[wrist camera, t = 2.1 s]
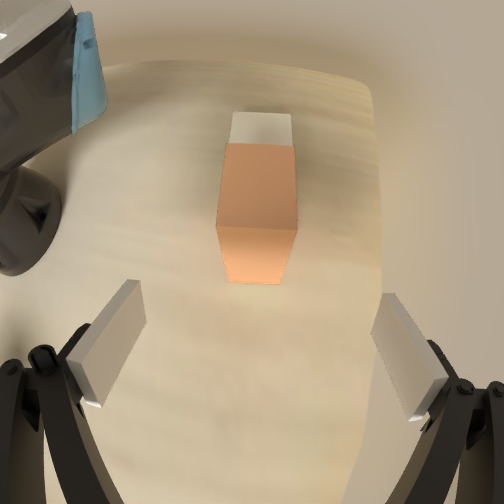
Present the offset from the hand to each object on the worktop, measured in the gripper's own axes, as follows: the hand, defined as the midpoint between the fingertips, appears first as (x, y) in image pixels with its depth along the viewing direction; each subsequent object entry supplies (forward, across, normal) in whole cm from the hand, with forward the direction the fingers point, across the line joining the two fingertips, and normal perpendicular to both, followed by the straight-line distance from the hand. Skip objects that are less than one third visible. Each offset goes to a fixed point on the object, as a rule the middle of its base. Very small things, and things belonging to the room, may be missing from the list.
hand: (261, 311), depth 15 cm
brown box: (+16, 0, -3) cm, 16 cm away
